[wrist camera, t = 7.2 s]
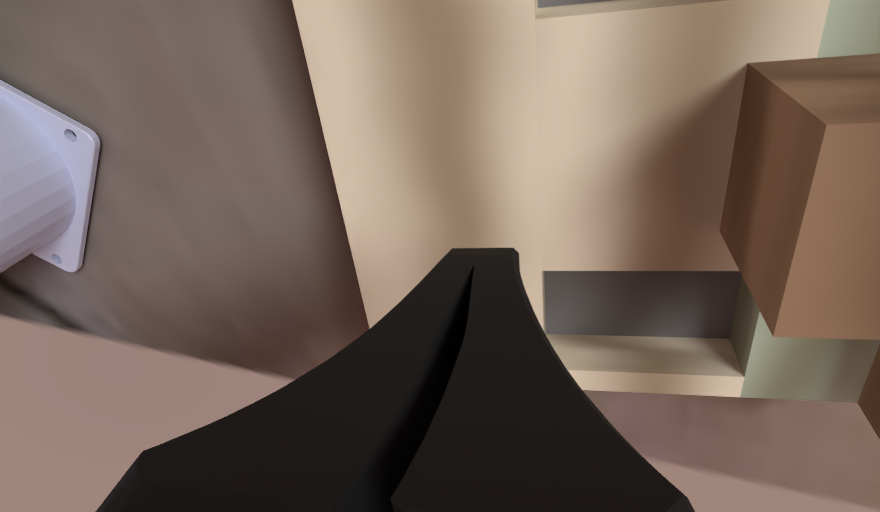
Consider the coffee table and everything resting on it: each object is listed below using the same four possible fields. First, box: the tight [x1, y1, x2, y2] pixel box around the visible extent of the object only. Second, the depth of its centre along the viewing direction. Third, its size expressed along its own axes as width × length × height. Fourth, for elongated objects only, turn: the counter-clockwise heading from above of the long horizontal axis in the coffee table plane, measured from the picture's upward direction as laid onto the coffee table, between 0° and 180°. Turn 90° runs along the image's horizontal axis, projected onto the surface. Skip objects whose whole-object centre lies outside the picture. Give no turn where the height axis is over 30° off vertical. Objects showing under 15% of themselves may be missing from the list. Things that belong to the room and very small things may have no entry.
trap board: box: [292, 0, 880, 439], centre depth 16 cm, size 18×19×4 cm
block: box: [720, 53, 880, 340], centre depth 13 cm, size 5×5×5 cm
